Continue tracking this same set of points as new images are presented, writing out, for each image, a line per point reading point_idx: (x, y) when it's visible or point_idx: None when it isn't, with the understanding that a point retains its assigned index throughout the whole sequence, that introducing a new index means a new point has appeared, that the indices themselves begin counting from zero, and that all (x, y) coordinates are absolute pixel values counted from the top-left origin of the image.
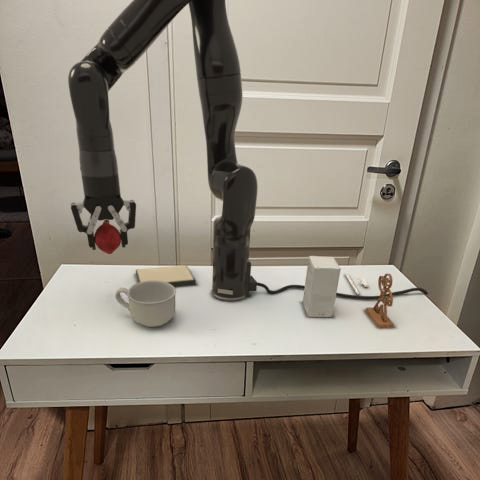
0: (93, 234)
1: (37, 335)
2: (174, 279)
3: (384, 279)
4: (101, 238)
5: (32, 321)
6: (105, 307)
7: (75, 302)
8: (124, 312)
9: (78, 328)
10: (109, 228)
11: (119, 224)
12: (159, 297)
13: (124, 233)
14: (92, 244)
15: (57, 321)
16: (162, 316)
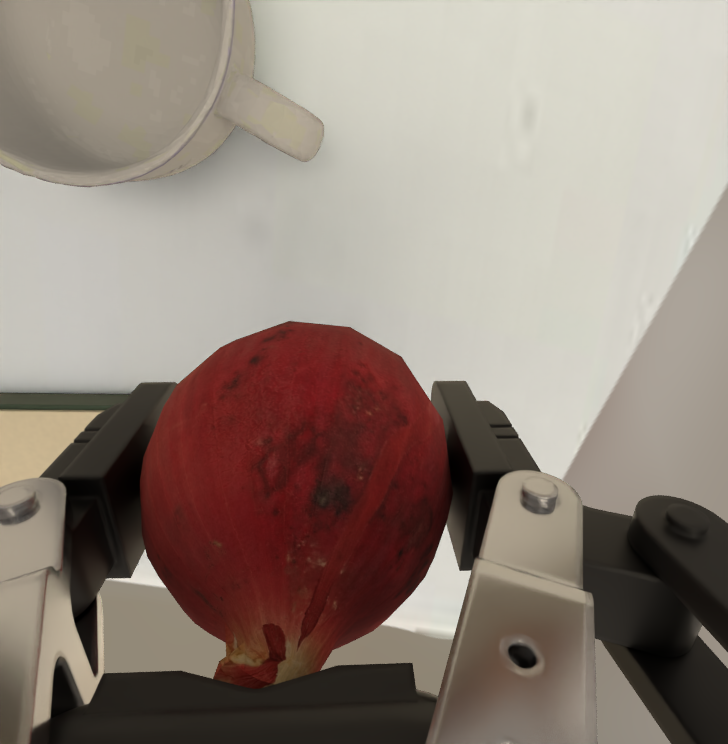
0: (477, 471)
1: (705, 54)
2: (39, 426)
3: None
4: (380, 387)
5: (689, 210)
6: (374, 265)
7: (491, 344)
8: (293, 190)
9: (520, 73)
10: (238, 512)
11: (34, 570)
12: (73, 153)
13: (70, 483)
14: (472, 403)
15: (594, 180)
16: None
